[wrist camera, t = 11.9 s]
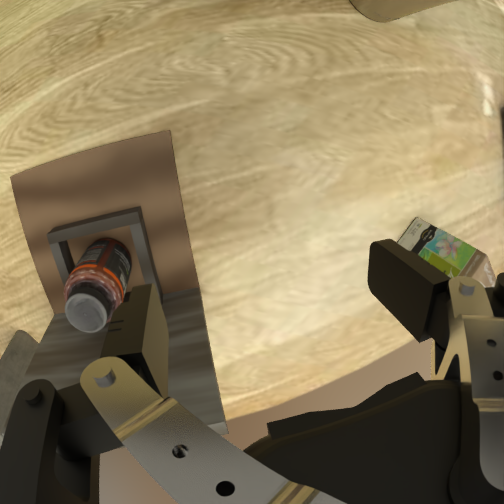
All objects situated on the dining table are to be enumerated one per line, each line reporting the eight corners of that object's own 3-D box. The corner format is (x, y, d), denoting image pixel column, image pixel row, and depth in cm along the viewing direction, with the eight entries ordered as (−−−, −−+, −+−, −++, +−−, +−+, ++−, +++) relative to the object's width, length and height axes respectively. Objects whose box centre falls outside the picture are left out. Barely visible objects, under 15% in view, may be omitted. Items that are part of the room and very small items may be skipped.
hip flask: (12, 334, 33) (-39, 434, 15) (26, 325, 34) (-27, 430, 15) (77, 402, 40) (60, 504, 22) (93, 396, 40) (78, 503, 22)
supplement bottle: (76, 260, 32) (42, 311, 21) (106, 226, 31) (76, 267, 21) (112, 293, 34) (92, 352, 24) (143, 261, 34) (131, 315, 23)
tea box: (376, 266, 43) (442, 318, 29) (415, 215, 41) (489, 250, 28) (416, 308, 49) (469, 354, 35) (449, 265, 47) (507, 302, 34)
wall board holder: (13, 175, 27) (-109, 230, 8) (169, 130, 30) (152, 119, 11) (61, 320, 35) (11, 444, 16) (201, 295, 38) (228, 433, 19)
